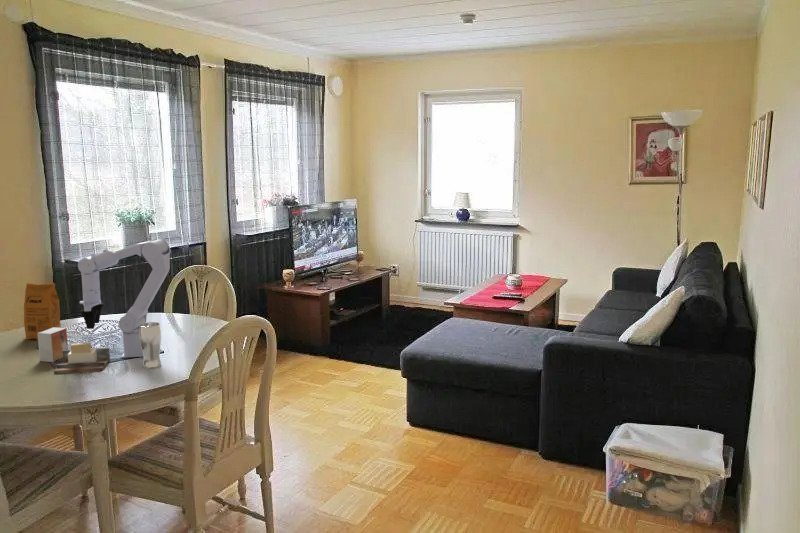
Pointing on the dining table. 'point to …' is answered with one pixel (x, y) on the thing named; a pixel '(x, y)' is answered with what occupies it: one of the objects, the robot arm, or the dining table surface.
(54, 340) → the small box
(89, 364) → the grey brown open tray
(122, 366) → the dining table surface
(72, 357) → the large cream box
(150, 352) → the beer glass
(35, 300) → the coffee package
